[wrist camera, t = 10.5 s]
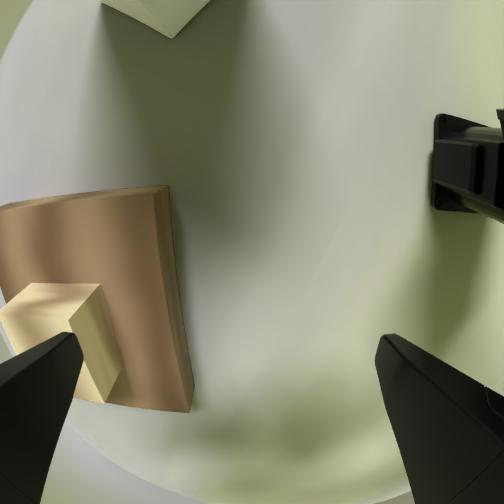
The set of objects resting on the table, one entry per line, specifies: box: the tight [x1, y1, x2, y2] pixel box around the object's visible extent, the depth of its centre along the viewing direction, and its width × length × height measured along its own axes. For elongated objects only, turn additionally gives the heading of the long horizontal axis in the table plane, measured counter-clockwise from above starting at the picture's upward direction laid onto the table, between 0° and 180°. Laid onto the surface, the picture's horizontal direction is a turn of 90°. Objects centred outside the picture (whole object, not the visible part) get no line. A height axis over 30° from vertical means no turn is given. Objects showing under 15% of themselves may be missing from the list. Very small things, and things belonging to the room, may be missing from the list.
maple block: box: [0, 283, 124, 403], centre depth 15 cm, size 6×6×4 cm
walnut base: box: [0, 185, 195, 413], centre depth 18 cm, size 14×16×3 cm
